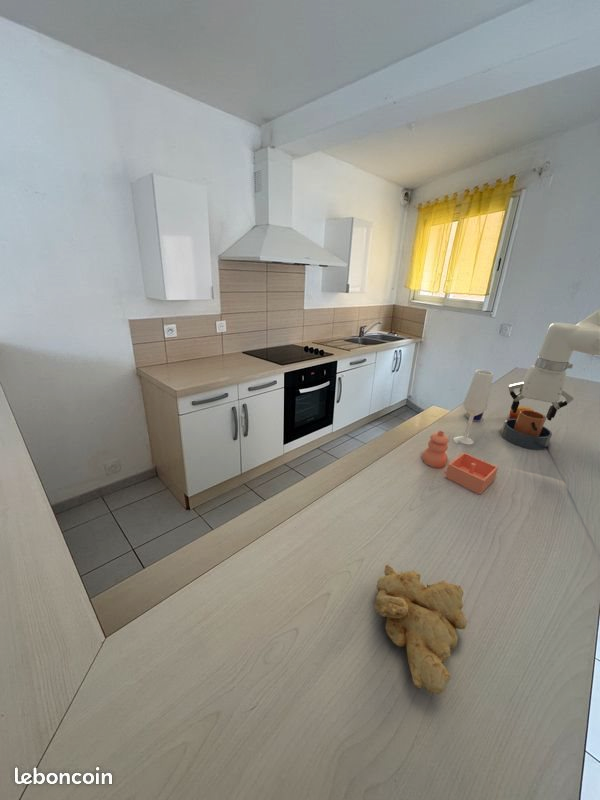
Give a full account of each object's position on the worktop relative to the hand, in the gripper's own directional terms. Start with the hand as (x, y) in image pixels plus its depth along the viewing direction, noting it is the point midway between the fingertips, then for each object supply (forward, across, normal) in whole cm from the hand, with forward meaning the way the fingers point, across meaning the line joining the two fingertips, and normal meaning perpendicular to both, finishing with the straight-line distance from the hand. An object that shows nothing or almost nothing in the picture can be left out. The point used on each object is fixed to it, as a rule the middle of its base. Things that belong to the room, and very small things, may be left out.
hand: (530, 415), depth 105 cm
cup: (+9, -1, +2) cm, 9 cm away
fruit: (+10, -2, -15) cm, 18 cm away
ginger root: (+10, +25, +80) cm, 84 cm away
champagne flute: (+10, +17, +11) cm, 23 cm away
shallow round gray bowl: (+10, -1, 0) cm, 10 cm away
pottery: (+10, +20, +31) cm, 38 cm away
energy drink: (+10, +14, -9) cm, 20 cm away
